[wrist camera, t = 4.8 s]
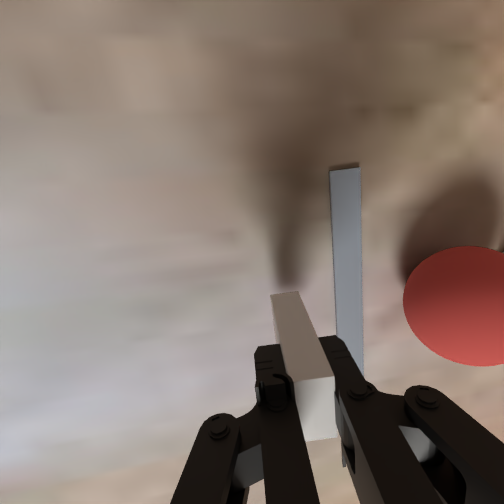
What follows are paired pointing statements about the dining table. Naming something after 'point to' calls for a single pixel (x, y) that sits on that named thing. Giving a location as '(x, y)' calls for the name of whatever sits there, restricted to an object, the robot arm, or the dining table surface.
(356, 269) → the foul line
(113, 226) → the dining table surface
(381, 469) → the robot arm
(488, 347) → the ball
